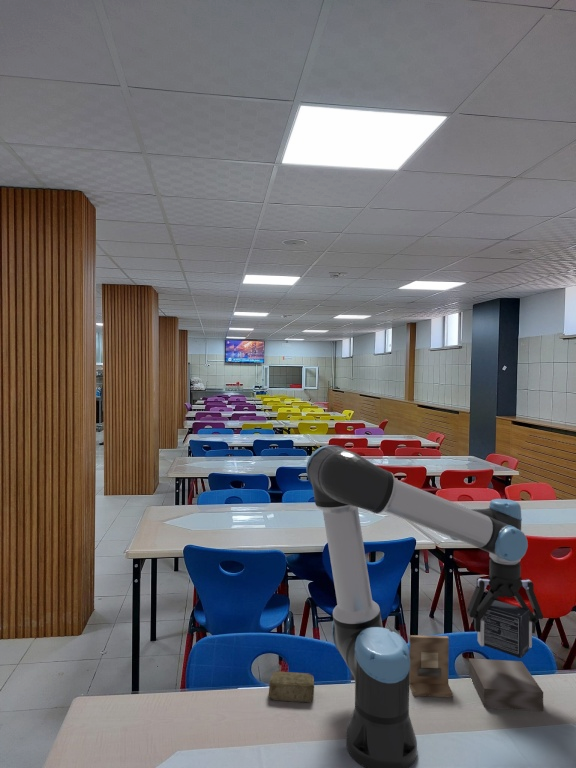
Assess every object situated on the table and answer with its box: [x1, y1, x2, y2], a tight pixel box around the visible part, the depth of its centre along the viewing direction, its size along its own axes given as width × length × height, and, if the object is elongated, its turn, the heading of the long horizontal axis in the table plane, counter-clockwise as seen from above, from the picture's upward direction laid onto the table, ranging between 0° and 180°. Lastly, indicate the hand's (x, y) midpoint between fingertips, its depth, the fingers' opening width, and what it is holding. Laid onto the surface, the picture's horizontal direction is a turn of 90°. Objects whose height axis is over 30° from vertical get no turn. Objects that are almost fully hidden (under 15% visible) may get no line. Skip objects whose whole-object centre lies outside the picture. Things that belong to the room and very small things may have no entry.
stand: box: [409, 634, 454, 698], centre depth 132 cm, size 10×6×13 cm, turn 88°
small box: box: [482, 599, 530, 659], centre depth 131 cm, size 11×6×10 cm, turn 47°
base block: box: [468, 657, 544, 712], centre depth 131 cm, size 14×14×5 cm
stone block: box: [268, 670, 315, 703], centre depth 128 cm, size 6×12×5 cm, turn 86°
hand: (504, 644), depth 131 cm, fingers closed on small box, 11 cm apart
